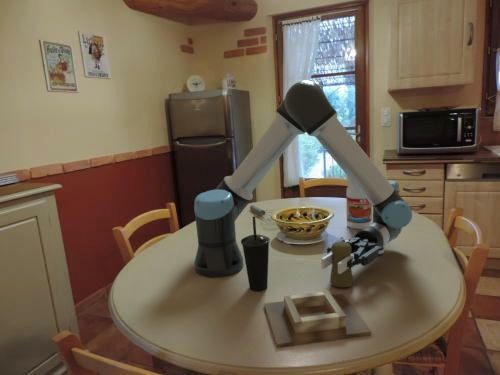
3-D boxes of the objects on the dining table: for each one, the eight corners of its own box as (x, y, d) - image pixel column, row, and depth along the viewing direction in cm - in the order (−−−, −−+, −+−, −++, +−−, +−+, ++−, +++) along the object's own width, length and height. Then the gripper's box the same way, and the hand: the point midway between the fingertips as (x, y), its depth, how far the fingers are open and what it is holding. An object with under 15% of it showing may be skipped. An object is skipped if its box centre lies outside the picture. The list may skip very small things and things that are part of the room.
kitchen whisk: (256, 208, 178) (255, 195, 176) (284, 228, 146) (283, 213, 145) (244, 209, 176) (243, 197, 175) (270, 230, 145) (269, 215, 143)
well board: (277, 347, 73) (276, 332, 72) (264, 306, 89) (263, 293, 88) (371, 334, 75) (371, 319, 74) (342, 296, 91) (342, 283, 90)
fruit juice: (368, 221, 146) (368, 152, 140) (374, 229, 137) (375, 155, 131) (344, 222, 147) (343, 154, 141) (349, 230, 138) (348, 157, 132)
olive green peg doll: (354, 287, 93) (354, 247, 91) (330, 286, 94) (329, 247, 92) (352, 277, 99) (352, 239, 97) (329, 276, 100) (329, 238, 98)
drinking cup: (256, 278, 104) (251, 211, 99) (277, 285, 99) (274, 215, 95) (238, 289, 98) (233, 218, 94) (261, 297, 93) (256, 223, 89)
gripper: (399, 257, 103) (362, 289, 86) (345, 244, 115) (303, 271, 98) (400, 232, 101) (362, 260, 85) (345, 222, 113) (302, 245, 96)
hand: (330, 266), depth 91 cm, fingers closed on olive green peg doll, 4 cm apart
